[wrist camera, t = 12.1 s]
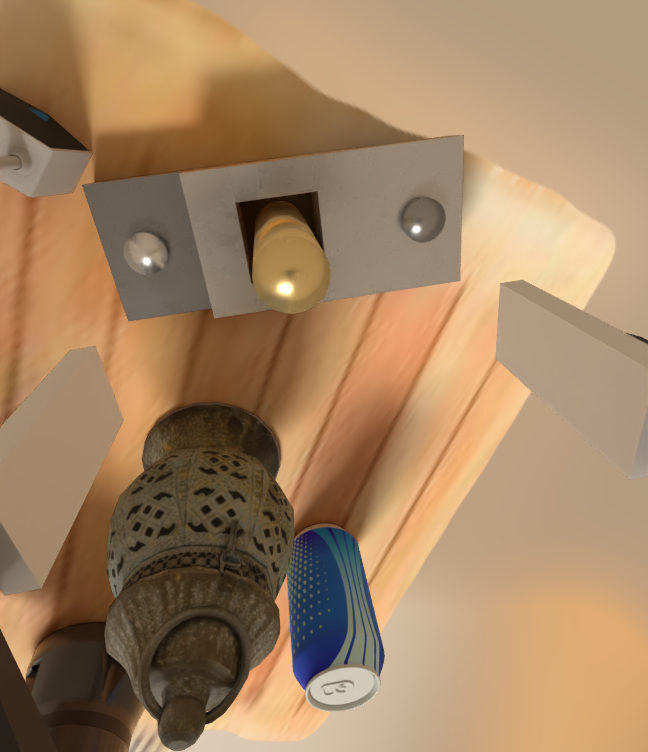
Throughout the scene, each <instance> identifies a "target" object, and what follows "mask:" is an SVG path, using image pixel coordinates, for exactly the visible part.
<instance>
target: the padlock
mask: <svg viewBox="0 0 648 752" xmlns="http://www.w3.org/2000/svg"><path fill="white" fill-rule="evenodd" d="M91 156H92V153H91V152H90V151H89V150H88V149H86V148H85V147H84V146H83V145H82V144H81V143H80V142H79V141H77V140H76V139H75V138H74V137H73V136H72V135H71V134H70V133H68V132H67V131H66V130H65V129H64V128H63V127H62V126H61V125H59V124H58V123H57V122H56V121H55V120H54V119H53V118H52V117H50V116H49V115H48V114H46V113H44V112H43V111H41V110H39V109H37V108H35V107H33V106H31V105H30V104H28V103H26V102H24V101H22V100H20V99H19V98H17V97H15V96H13V95H11V94H9V93H7V92H6V91H4V90H2V89H0V181H2V182H4V183H5V184H7V185H9V186H11V187H12V188H14V189H16V190H17V191H19V192H21V193H23V194H24V195H26V196H28V197H40V196H50V195H59V194H68V193H73V191H74V189H75V187H76V185H77V183H78V181H79V179H80V177H81V175H82V173H83V171H84V169H85V168H86V166H87V164H88V162H89V160H90V158H91Z"/></svg>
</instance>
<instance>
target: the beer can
mask: <svg viewBox="0 0 648 752" xmlns="http://www.w3.org/2000/svg"><path fill="white" fill-rule="evenodd" d="M287 584H288V600H289V616H290V631H291V647H292V663H293V672H294V675H295V677H296V679H297V681H298V682H299V683H300V685H301V686H302V688H303V689H304V690H305V696H306V699H307V701H308V703H309V704H310V705H312V706H313V707H315V708H317V709H319V710H323V711H329V712H338V711H346V710H350V709H354V708H357V707H359V706H361V705H363V704H365V703H367V702H368V701H370V700H371V699H372V698H373V697H374V696H375V695H376V694H377V693H378V691H379V689H380V685H381V683H380V677H379V676H380V673H381V670H382V667H383V663H384V656H385V655H384V649H383V644H382V640H381V636H380V632H379V628H378V624H377V620H376V616H375V612H374V608H373V604H372V600H371V595H370V591H369V587H368V583H367V579H366V575H365V571H364V567H363V563H362V559H361V555H360V551H359V546H358V543H357V541H356V539H355V538H354V537H353V536H352V535H351V534H350V533H349V532H347V531H345V530H344V529H343V528H341V527H339V526H337V525H334V524H328V523H322V524H315V525H312V526H309V527H307V528H305V529H304V530H302V531H301V532H300V533H299V534H298V535H297V536H296V537H295V538H294V540H293V549H292V556H291V560H290V563H289V567H288V570H287Z"/></svg>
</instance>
